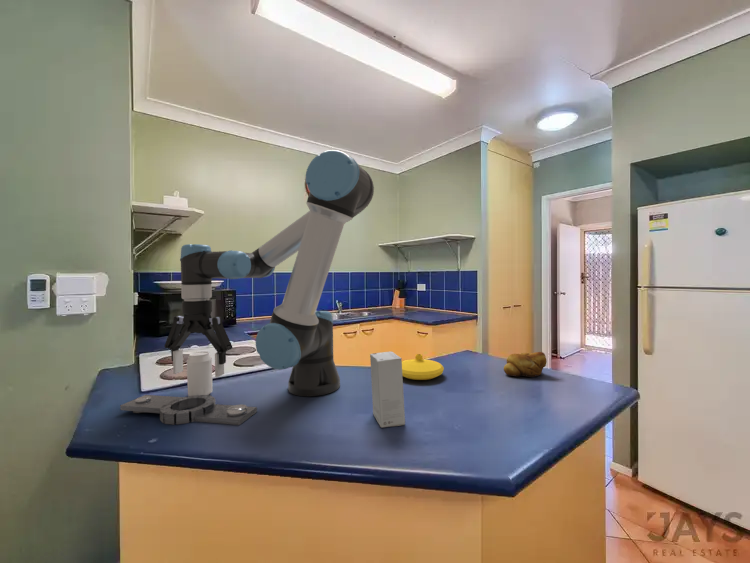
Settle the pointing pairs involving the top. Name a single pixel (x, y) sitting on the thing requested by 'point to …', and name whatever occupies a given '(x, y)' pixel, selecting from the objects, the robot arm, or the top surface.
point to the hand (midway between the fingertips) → (198, 374)
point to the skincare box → (387, 389)
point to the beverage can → (199, 374)
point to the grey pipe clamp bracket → (202, 412)
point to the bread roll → (525, 364)
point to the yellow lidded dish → (421, 368)
